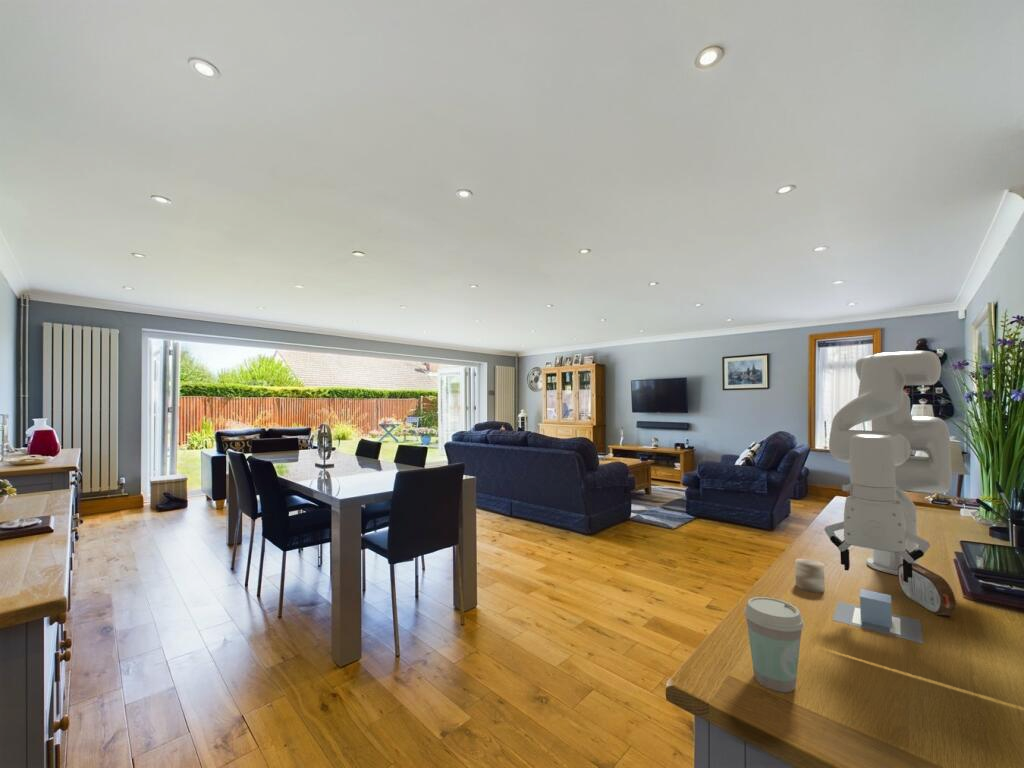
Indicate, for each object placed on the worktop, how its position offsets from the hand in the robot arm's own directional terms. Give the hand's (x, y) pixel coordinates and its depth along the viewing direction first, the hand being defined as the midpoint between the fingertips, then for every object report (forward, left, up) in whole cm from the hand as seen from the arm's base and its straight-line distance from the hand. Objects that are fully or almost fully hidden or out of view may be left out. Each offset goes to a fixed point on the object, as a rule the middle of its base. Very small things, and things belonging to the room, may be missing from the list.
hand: (875, 574), depth 94 cm
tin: (-16, +8, -10) cm, 21 cm away
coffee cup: (+38, -12, -10) cm, 41 cm away
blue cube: (+1, 0, -9) cm, 9 cm away
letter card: (+1, 0, -10) cm, 10 cm away
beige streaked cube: (-10, -13, -10) cm, 19 cm away
